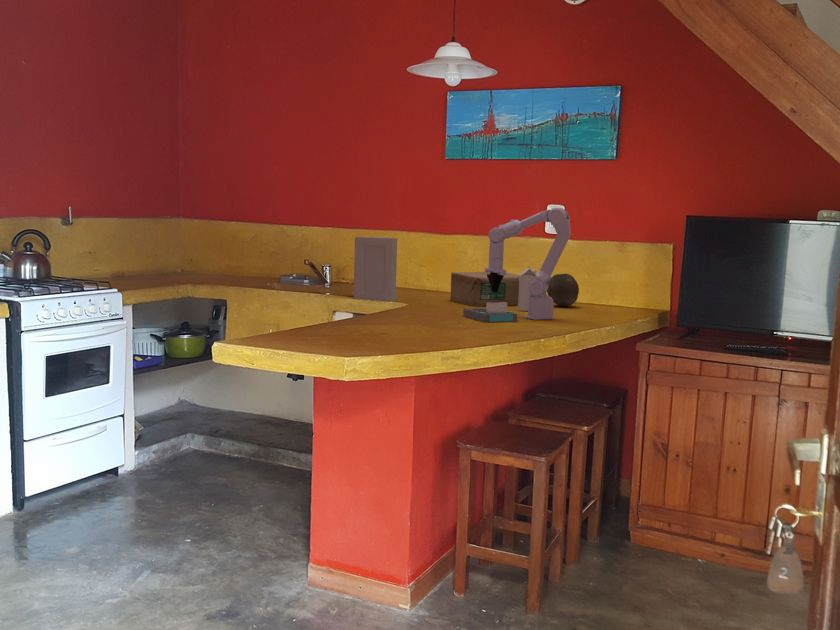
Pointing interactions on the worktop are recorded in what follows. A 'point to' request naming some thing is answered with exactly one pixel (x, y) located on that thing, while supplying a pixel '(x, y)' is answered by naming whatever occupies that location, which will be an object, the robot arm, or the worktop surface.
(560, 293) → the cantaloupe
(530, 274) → the milk carton
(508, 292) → the paper package
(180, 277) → the worktop surface
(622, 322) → the worktop surface
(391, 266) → the grooved grey upright panel
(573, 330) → the worktop surface
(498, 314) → the slot rack
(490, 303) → the grey slab
